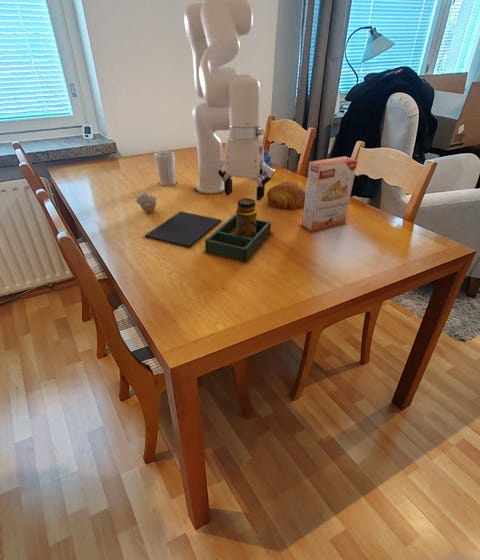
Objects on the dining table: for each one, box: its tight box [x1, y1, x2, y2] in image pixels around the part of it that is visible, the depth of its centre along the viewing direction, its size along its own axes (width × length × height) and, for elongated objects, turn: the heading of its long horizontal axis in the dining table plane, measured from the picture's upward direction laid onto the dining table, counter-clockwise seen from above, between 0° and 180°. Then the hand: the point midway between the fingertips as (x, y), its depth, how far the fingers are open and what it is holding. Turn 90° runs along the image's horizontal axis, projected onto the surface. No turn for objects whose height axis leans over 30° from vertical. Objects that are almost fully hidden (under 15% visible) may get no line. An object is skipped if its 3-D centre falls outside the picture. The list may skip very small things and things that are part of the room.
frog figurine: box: [135, 192, 157, 213], centre depth 123 cm, size 6×7×7 cm
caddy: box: [204, 214, 272, 263], centre depth 105 cm, size 19×13×4 cm, turn 155°
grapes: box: [262, 149, 273, 178], centre depth 153 cm, size 12×7×12 cm, turn 34°
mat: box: [144, 211, 222, 249], centre depth 114 cm, size 20×16×1 cm
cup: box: [154, 150, 176, 187], centre depth 147 cm, size 8×8×12 cm
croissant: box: [266, 181, 306, 210], centre depth 130 cm, size 14×16×8 cm
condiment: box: [234, 197, 258, 239], centre depth 105 cm, size 7×8×12 cm
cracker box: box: [301, 156, 358, 232], centre depth 111 cm, size 14×6×21 cm, turn 117°
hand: (244, 196), depth 101 cm, fingers open, 9 cm apart
